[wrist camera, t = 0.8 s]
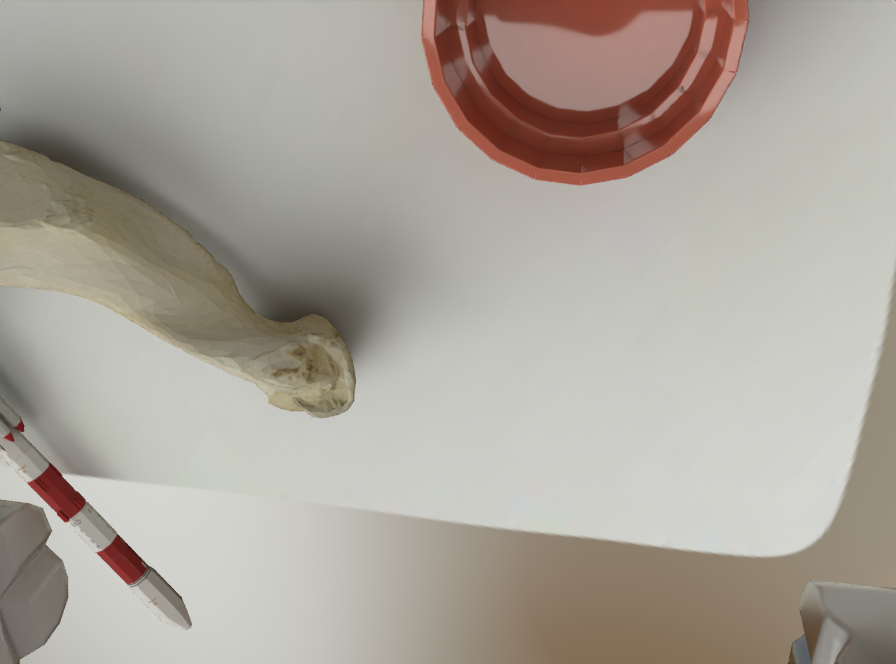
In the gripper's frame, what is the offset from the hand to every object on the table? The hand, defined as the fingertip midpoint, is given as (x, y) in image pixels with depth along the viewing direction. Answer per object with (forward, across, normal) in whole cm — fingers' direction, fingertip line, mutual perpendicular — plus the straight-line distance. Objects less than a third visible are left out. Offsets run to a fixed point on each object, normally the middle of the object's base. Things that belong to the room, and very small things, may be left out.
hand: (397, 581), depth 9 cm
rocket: (+26, +37, +9) cm, 46 cm away
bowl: (+29, -1, -2) cm, 29 cm away
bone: (+29, +19, +10) cm, 36 cm away
